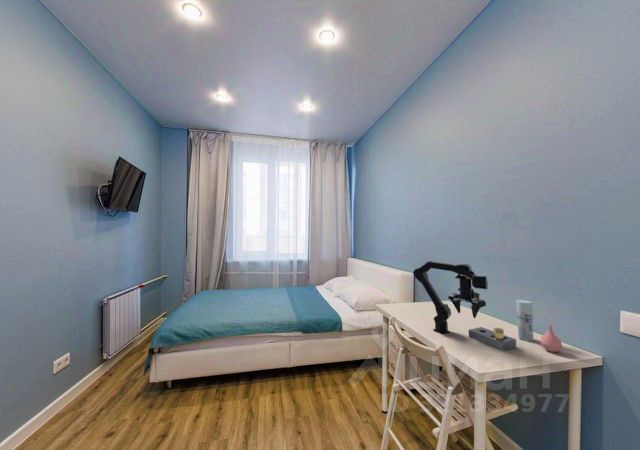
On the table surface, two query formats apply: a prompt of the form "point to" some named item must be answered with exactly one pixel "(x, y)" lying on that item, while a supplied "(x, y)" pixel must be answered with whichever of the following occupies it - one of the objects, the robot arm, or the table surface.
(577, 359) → the table surface
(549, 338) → the pink teardrop bulb
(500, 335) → the brass fitting
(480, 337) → the manifold plate
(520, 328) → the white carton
